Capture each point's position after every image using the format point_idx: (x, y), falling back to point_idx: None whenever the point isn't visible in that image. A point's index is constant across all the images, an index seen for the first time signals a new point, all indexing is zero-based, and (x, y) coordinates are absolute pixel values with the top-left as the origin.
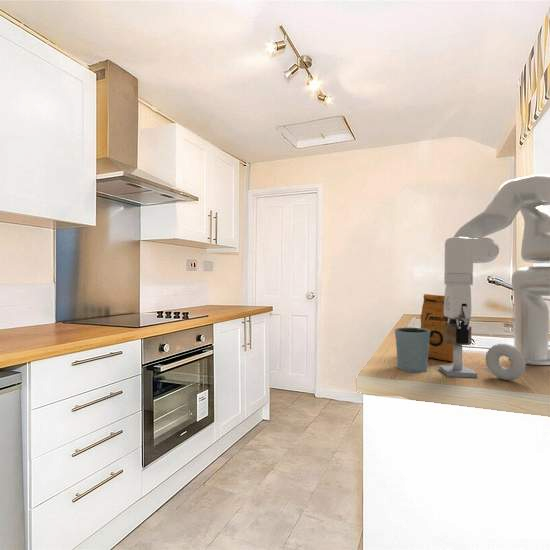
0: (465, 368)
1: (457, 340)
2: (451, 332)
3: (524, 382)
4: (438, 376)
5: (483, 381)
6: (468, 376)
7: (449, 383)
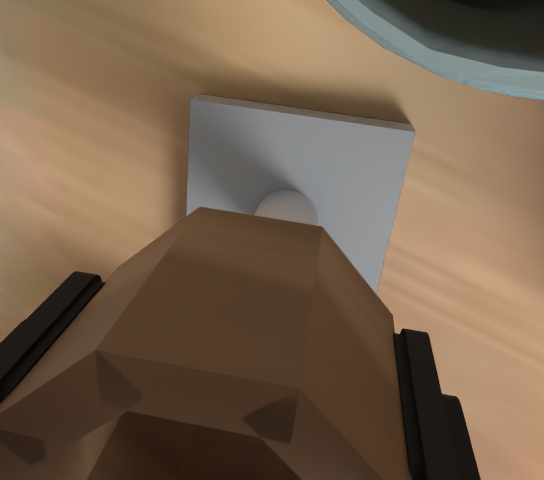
0: None
1: (66, 293)
2: (95, 318)
3: None
4: (196, 19)
5: (113, 262)
6: None
7: (18, 20)
